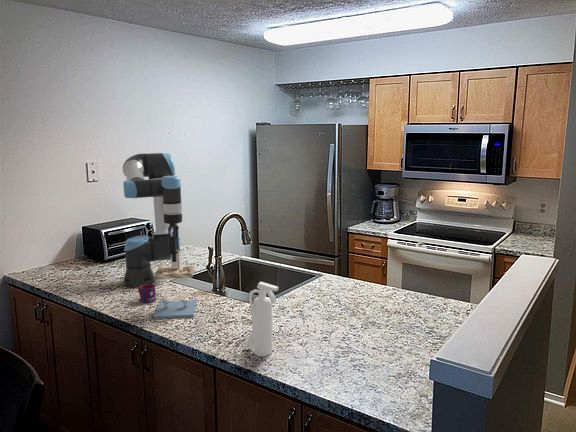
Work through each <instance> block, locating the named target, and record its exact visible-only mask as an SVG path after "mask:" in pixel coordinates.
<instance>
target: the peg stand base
mask: <svg viewBox="0 0 576 432" xmlns="http://www.w3.org/2000/svg"><path fill="white" fill-rule="evenodd" d="M177 253H178V269H172V268H171V265H170V266H158V268H157V270H156V272H155V273H154V276H155V280H167V279H168V280H172V279H192V278H193V277H194V276H193V275H194V272H195V265H180V253H179V249H177Z"/></svg>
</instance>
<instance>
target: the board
mask: <svg viewBox="0 0 576 432" xmlns="http://www.w3.org/2000/svg"><path fill="white" fill-rule="evenodd" d="M197 303H198V301H197V300H196V299H195V300H190V299H189V298H188V297H184V298H181V300H176V301H175V300H174V301H170V299H169V298H164V299H162V301H159V302H158V305H157V307H156V310H155V312H154V314H153V320H161V319H163V320H164V319H166V320H167V319H179V318H180V319H181V318H182V319H184V318H186V319H187V318H194V317H195V313H196V308H197V305H198V304H197Z"/></svg>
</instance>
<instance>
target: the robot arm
mask: <svg viewBox="0 0 576 432" xmlns="http://www.w3.org/2000/svg"><path fill="white" fill-rule="evenodd" d="M175 167H176V166H175V164H174V158H173V157H172V155H171V154H170V153H167V152H166V153H164V152H155V153H154V152H153V153H152V152H151V153H137V154H133V155H131V156H130V157H128V158H126V160H125V161H124V163H123V165H122V172H123V175H124V176H125V177H126V180H124V181H123V193H124V195H123V196H124V198H126V199H140V198H142V199H143V198H152V199H153V211H154V212H153V213H154V224H155V225H154V226H155V231H154V232H153V234H152V237H150V236H149V235H146V234H143V235H142V234H141V235H135V236H132V237H129V238H127V239H126V240H125V242H124V251H125V252H124V255H125V272H124V277H123V278H122V280H123V281H122V282H123V285H124V286H125V287H127V288H138V286H139V285H145V284H153V285H154V283H155V282H156V279H155V273H154V271H153V269H152V265H151V262H160V261H170V262H171V263H170V264H171V265H170V266H171V268H172V269H178V253H177V249H179V254H181V253H180V251H181V236H180V235H179V232H180V231H179V230H180V228H179V225H178V224H180V223H182V222H183V205H182V193H181V192H182V188H181V185H182V183H181V177H180V176H178V175H176V168H175ZM147 177H148V179H145V178H147Z"/></svg>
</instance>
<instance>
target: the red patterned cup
mask: <svg viewBox="0 0 576 432" xmlns="http://www.w3.org/2000/svg"><path fill="white" fill-rule="evenodd" d="M137 291H138V294H139V299H140V300H139V301H140V303H142V304H144V305H145V304H146V305H147V304H152V303H155V302H156V301H157V296H156V294H157V293H156V285H155V284H154V283H153V284H145V285H139V286H138V287H137Z"/></svg>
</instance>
